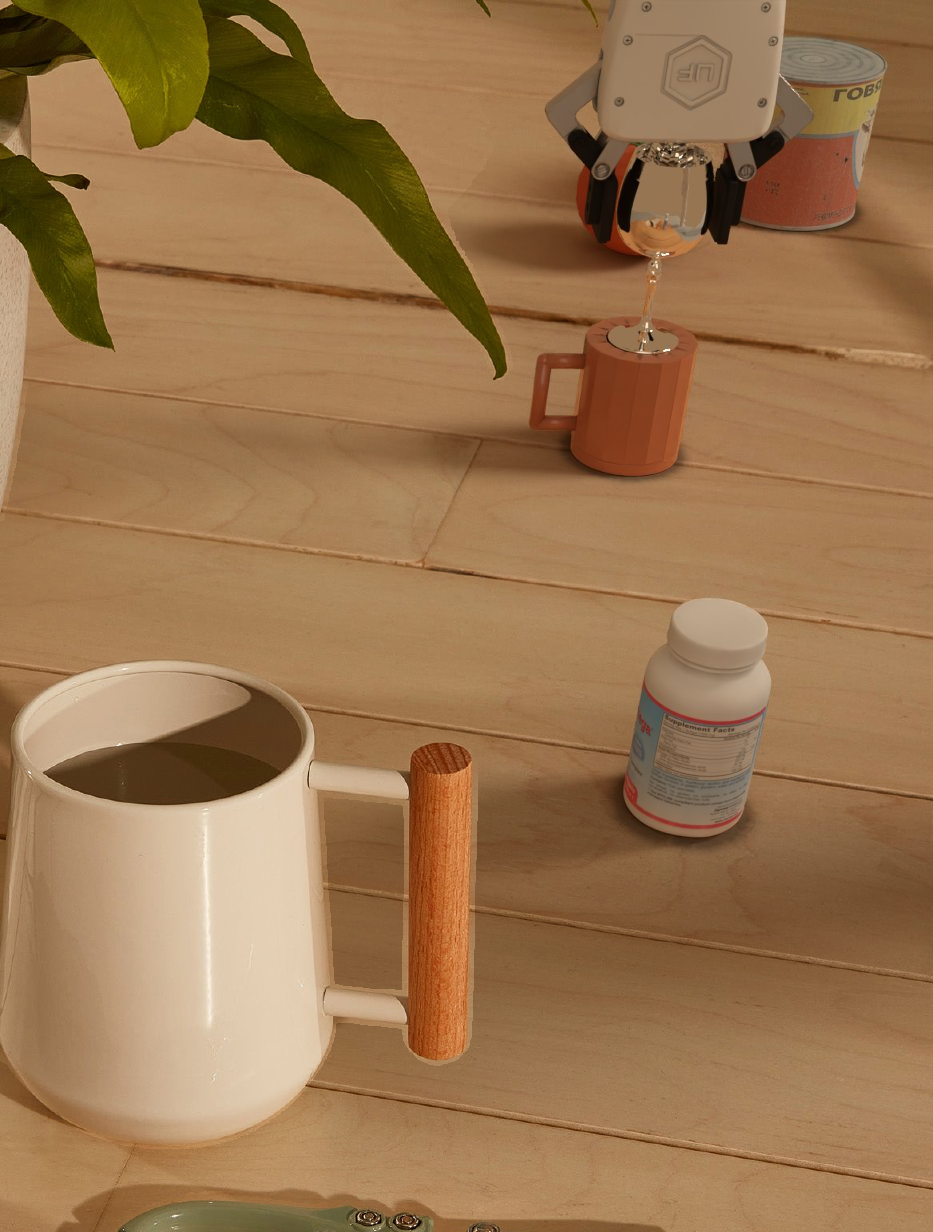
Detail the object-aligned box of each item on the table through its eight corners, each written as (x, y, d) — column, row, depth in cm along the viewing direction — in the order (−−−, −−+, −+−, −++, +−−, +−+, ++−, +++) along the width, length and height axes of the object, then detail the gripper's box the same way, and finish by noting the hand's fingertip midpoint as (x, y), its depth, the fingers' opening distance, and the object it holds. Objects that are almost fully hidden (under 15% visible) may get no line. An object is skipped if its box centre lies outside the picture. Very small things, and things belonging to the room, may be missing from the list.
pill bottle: (638, 759, 109) (672, 577, 102) (753, 789, 106) (796, 605, 99) (607, 823, 104) (640, 637, 97) (727, 855, 102) (770, 668, 95)
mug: (667, 427, 139) (686, 316, 134) (685, 477, 133) (706, 363, 128) (519, 425, 139) (533, 314, 134) (531, 474, 133) (546, 361, 129)
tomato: (634, 216, 168) (653, 94, 162) (727, 257, 161) (750, 131, 155) (541, 244, 164) (557, 119, 158) (632, 287, 157) (653, 158, 151)
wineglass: (582, 344, 130) (609, 159, 123) (619, 313, 134) (647, 131, 127) (667, 366, 128) (700, 178, 120) (703, 334, 132) (736, 149, 124)
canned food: (849, 238, 164) (882, 87, 157) (706, 221, 167) (732, 72, 160) (859, 189, 173) (891, 44, 165) (723, 173, 176) (748, 30, 168)
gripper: (562, -51, 113) (525, 258, 124) (879, -50, 113) (813, 261, 124) (545, -87, 119) (511, 211, 130) (846, -86, 119) (786, 214, 130)
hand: (658, 233), depth 127 cm, fingers open, 6 cm apart
